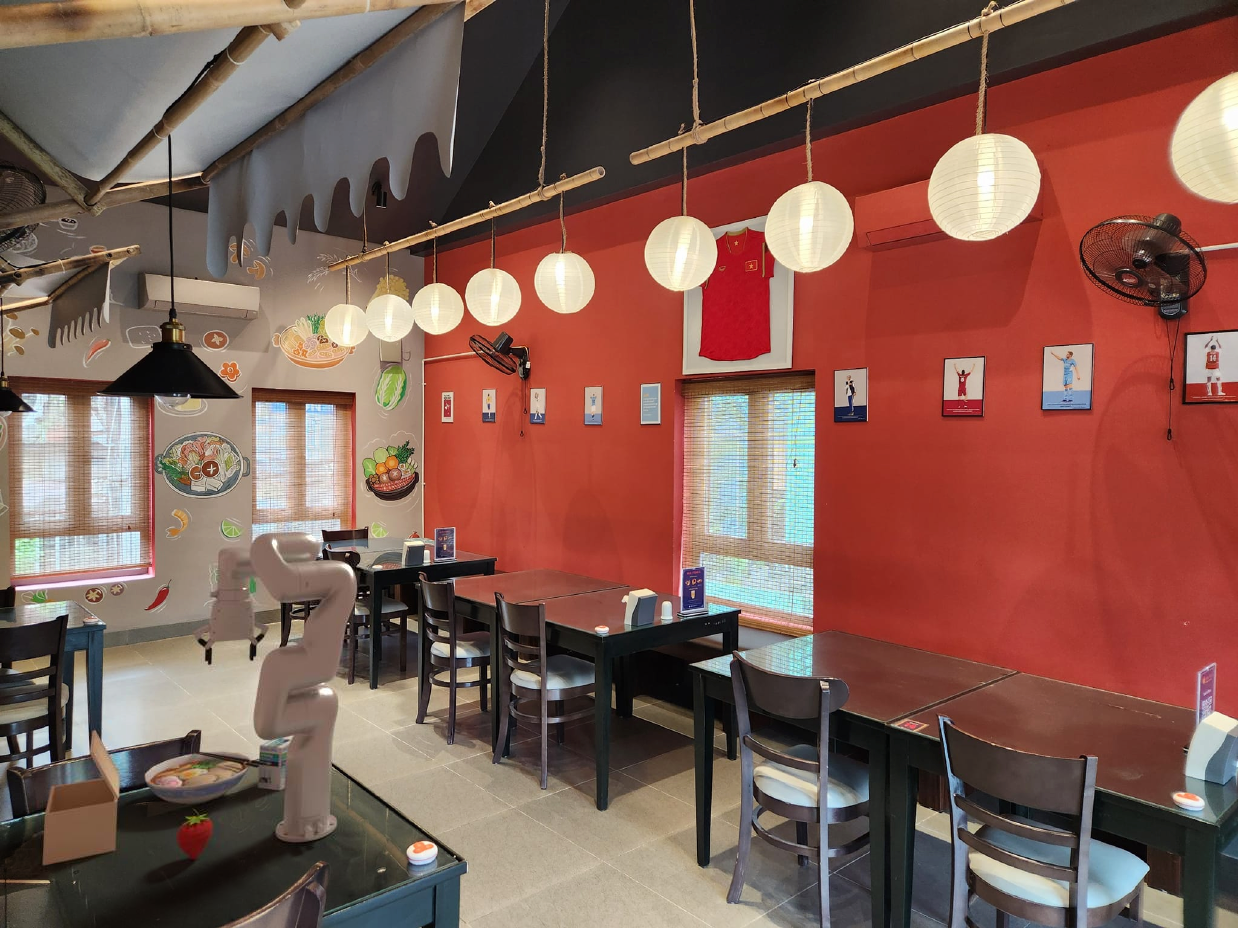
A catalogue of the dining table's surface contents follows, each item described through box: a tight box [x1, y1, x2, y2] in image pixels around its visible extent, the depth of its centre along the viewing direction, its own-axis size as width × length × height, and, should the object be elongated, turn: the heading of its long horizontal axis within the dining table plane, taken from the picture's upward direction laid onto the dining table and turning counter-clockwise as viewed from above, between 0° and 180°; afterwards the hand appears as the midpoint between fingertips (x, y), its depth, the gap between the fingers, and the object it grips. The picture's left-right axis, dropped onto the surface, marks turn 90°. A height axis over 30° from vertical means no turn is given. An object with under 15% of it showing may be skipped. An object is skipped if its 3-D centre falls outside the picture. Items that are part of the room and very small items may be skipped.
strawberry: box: [176, 808, 214, 860], centre depth 153 cm, size 6×8×10 cm
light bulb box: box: [257, 735, 294, 791], centre depth 193 cm, size 11×7×11 cm, turn 168°
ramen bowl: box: [144, 749, 265, 805], centre depth 182 cm, size 25×23×8 cm
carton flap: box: [89, 729, 120, 800], centre depth 161 cm, size 16×12×1 cm
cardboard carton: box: [42, 777, 118, 866], centre depth 159 cm, size 16×12×10 cm
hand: (230, 661), depth 193 cm, fingers open, 9 cm apart
